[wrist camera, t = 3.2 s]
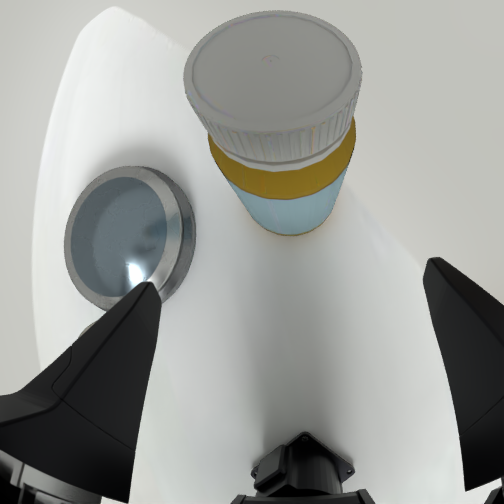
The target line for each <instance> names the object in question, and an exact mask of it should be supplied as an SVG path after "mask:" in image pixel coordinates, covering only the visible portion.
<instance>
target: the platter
mask: <svg viewBox="0 0 504 504" xmlns="http://www.w3.org/2000/svg"><path fill="white" fill-rule="evenodd" d="M183 241H184V221H183V215H182V211H181V208H180V204H179V202H178V200H177V198H176V196H175V194H174V193H173V191H172V189H171V188H170V187H169V186H168V185H167V184H166V183H165V182H164V181H163V180H162V179H160V178H159V177H158V176H157V175H155V174H154V173H152V172H150V171H149V170H146V169H143V168H140V167H134V166H125V167H119V168H115V169H112V170H110V171H107V172H105V173H104V174H102V175H100V176H99V177H97V178H96V179H95V180H93V181H92V182H91V183H90V184H89V185H88V186H87V187H86V188H85V189H84V191H83V192H82V193H81V195H80V196H79V198H78V199H77V201H76V202H75V204H74V206H73V208H72V211H71V213H70V215H69V218H68V222H67V225H66V230H65V237H64V255H65V262H66V266H67V270H68V273H69V275H70V278H71V280H72V282H73V284H74V285H75V287H76V288H77V290H78V291H79V292H80V293H81V294H82V295H83V296H84V297H85V298H86V299H87V300H88V301H90V302H91V303H93V304H95V305H97V306H99V307H102V308H105V309H111V308H112V307H113V306H114V305H115V304H116V303H117V302H118V301H119V300H121V299H122V298H123V297H124V296H125V295H126V294H127V293H128V292H130V291H131V290H132V289H133V288H134V287H135V286H136V285H137V284H139V283H140V282H143V281H151V282H153V283H154V285H155V287H156V289H157V291H158V293H159V292H160V291H161V290H162V289H163V288H164V287H165V285H166V284H167V283H168V281H169V280H170V278H171V277H172V275H173V273H174V271H175V269H176V267H177V265H178V262H179V259H180V256H181V252H182V247H183Z"/></svg>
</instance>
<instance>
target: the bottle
mask: <svg viewBox="0 0 504 504" xmlns="http://www.w3.org/2000/svg"><path fill="white" fill-rule="evenodd" d="M361 67H362V66H361V62H360V58H359V55H358V52H357V51H356V49H355V47H354V45H353V44H352V42H351V41H350V40H349V39H348V38H347V36H346V35H345V34H344V33H342V32H341V31H340V30H339V29H337V28H336V27H334V26H333V25H331V24H330V23H328V22H326V21H323V20H321V19H319V18H317V17H314V16H311V15H307V14H303V13H298V12H291V11H263V12H257V13H251V14H247V15H243V16H240V17H237V18H234V19H232V20H230V21H227V22H225V23H223V24H222V25H220V26H218V27H216V28H215V29H213V30H212V31H211V32H209V33H208V34H207V35H206V36H205V37H203V39H201V40H200V41H199V42H198V44H197V45H196V46H195V47H194V49H193V50H192V52H191V53H190V55H189V57H188V59H187V62H186V65H185V68H184V78H183V79H184V87H185V93H186V94H187V99H188V101H189V102H190V105H191V106H192V108H193V109H194V111H195V113H196V114H197V116H198V118H199V119H200V121H201V122H202V124H203V126H204V127H205V129H206V130H207V132H208V141H209V146H210V151H211V154H212V156H213V158H214V160H215V162H216V164H217V165H218V167H219V169H220V170H221V172H222V173H223V175H224V176H225V178H226V179H227V181H228V182H229V184H230V185H231V187H232V188H233V190H234V191H235V192H236V194H237V195H238V197H239V198H240V200H241V201H242V203H243V204H244V206H245V207H246V209H247V210H248V212H249V213H250V215H251V216H252V218H253V219H254V220H255V221H256V222H257V223H258V224H260V225H261V226H262V227H263V228H264V229H266V230H268V231H270V232H273V233H275V234H278V235H285V236H297V235H301V234H305V233H308V232H311V231H312V230H314V229H315V228H317V227H319V226H320V225H321V224H322V223H323V222H324V221H325V220H326V218H327V217H328V216H329V215H330V213H331V211H332V209H333V206H334V204H335V201H336V198H337V196H338V193H339V190H340V187H341V185H342V182H343V179H344V176H345V173H346V171H347V168H348V165H349V162H350V159H351V156H352V153H353V150H354V146H355V141H356V128H355V120H354V117H353V115H354V111H355V107H356V103H357V99H358V95H359V90H360V86H361V81H362V78H361V77H362V71H361Z"/></svg>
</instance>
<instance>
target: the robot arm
mask: <svg viewBox="0 0 504 504" xmlns="http://www.w3.org/2000/svg"><path fill="white" fill-rule="evenodd" d="M423 285H424V289H425V293H426V298H427V302H428V306H429V311H430V315H431V320H432V324H433V328H434V331H435V334H436V338H437V341H438V344H439V348H440V351H441V355H442V358H443V362H444V366H445V370H446V374H447V378H448V382H449V386H450V391H451V395H452V400H453V405H454V410H455V415H456V420H457V426H458V432H459V440H460V447H461V454H462V463H463V473H464V486H465V492H466V491H469V490H472V489H474V488H477V487H480V486H482V485H485V484H487V483H490V482H492V481H494V480H497V479H499V478H501V482H502V486H500V487H498V488H496V489H494V490H492V491H491V493H490V495H489V496H488V498H487V500H486V501H485V503H484V504H504V305H503V304H501V303H500V302H499V301H498V300H497V299H495V298H494V297H493V296H491V295H490V294H489V293H488V292H487V291H485V290H484V289H483V288H481V287H480V286H479V285H478V284H476V283H475V282H474V281H472V280H471V279H469V278H468V277H467V276H466V275H464V274H463V273H461V272H460V271H459V270H457V269H456V268H455V267H453V266H452V265H451V264H449V263H448V262H446V261H445V260H444V259H442V258H440V257H433V258H429V259H428V261H427V264H426V268H425V272H424V276H423ZM161 306H162V301H161V297H160V295H159V293H158V291H157V289H156V287H155V285H154V283H153V282H151V281H143V282H140V283H139V284H137V285H136V286H135V287H134V288H133V289H132V290H131V291H130V292H128V293H127V294H126V295H125V296H124V297H123V298H122V299H121V300H119V301H118V302H117V303H116V304H115V305H114V306H113V307H112V308H111V309H110V310H108V311H107V312H106V313H105V314H104V315H103V316H102V317H101V318H100V319H99V320H97V321H96V322H95V323H94V324H93V325H92V326H91V327H90V328H89V329H88V330H87V331H86V332H85V333H84V334H82V335H81V336H80V337H79V338H78V339H77V340H76V341H75V342H74V343H73V344H72V346H70V347H69V348H68V349H67V350H66V351H65V352H64V353H62V354H61V355H60V356H59V357H58V358H57V359H56V360H55V361H54V362H53V363H52V364H50V365H49V366H48V367H47V368H46V369H45V370H43V371H42V372H41V373H40V374H39V375H38V376H36V377H35V378H34V379H33V380H32V381H31V382H30V383H28V384H27V385H26V386H25V387H24V388H22V389H21V390H19V391H18V392H15V393H13V394H9V395H2V396H0V504H100V503H101V499H102V496H103V497H106V498H109V499H113V500H116V501H119V502H123V503H127V504H128V502H129V496H130V488H131V480H132V473H133V466H134V459H135V451H136V445H137V439H138V433H139V427H140V422H141V416H142V411H143V405H144V400H145V395H146V390H147V385H148V381H149V376H150V371H151V367H152V362H153V358H154V353H155V349H156V344H157V337H158V329H159V321H160V314H161ZM305 436H306V437H307V439H302V437H305ZM348 470H351V471H350V472H347V471H348ZM256 472H257V474H255V473H256ZM354 473H355V469H354V467H353V466H352V465H350V464H349V463H348V462H346V461H345V460H343V459H342V458H341V457H339V456H338V455H337V454H335V453H334V452H333V451H331V450H330V449H329V448H328V447H326V446H325V445H324V444H322V443H321V442H320V441H319V440H317V439H316V438H315V437H313V436H312V435H311V434H310V433H308V432H302V433H300V434H299V435H298V436H297V437H295V438H294V439H293V440H292V441H290V442H289V443H288V444H287V445H281V446H279V447H278V448H277V449H275V450H274V451H273V452H271V453H270V454H269V455H267V456H266V457H265V458H263V459H262V460H261V461H260V465H258V466H257V467H255V468H254V469H253V470H252V471H251V476H252V477H253V478H254V479H255V482H254V489H255V490H257V493H256V496H255V497H251V496H246V495H237V497H236V498H235V499H234V500H233V501H232V503H231V504H375V502H374V501H373V499H372V498H371V496H370V495H369V493H368V492H367V490H366V489H361V490H357V491H356V492H348V493H343V489H342V483H343V482H344V481H345V480H347V479H348V478H349V477H351V476H352V475H353V474H354Z"/></svg>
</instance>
